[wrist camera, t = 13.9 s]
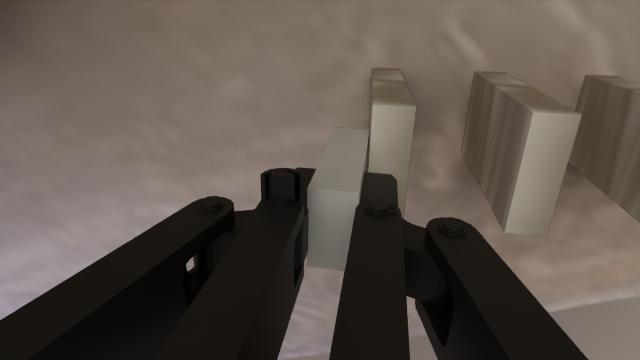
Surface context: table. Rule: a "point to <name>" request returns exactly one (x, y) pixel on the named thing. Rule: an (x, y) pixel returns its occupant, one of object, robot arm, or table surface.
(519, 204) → the domino
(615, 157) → the domino
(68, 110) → the table surface
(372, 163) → the domino
